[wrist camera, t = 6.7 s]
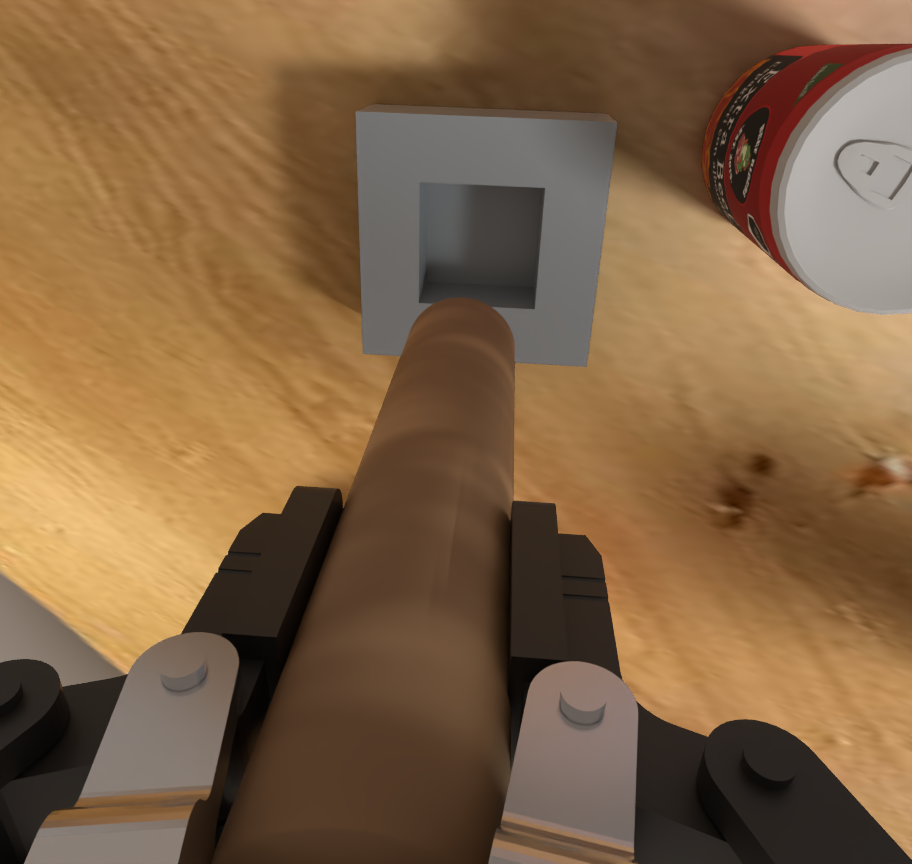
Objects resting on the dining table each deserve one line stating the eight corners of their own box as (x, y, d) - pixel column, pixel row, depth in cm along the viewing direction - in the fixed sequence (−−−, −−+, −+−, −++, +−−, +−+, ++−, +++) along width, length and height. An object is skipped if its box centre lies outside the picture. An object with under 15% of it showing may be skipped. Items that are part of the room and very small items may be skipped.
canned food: (725, 31, 29) (828, 25, 20) (923, 59, 29) (1124, 66, 19) (675, 223, 33) (740, 298, 23) (850, 248, 33) (990, 333, 23)
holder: (606, 113, 31) (617, 122, 27) (579, 335, 36) (586, 366, 32) (373, 103, 31) (355, 111, 28) (377, 323, 36) (363, 353, 33)
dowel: (518, 300, 19) (521, 845, 6) (511, 401, 21) (499, 1019, 8) (407, 294, 20) (179, 813, 6) (407, 395, 21) (220, 990, 8)
